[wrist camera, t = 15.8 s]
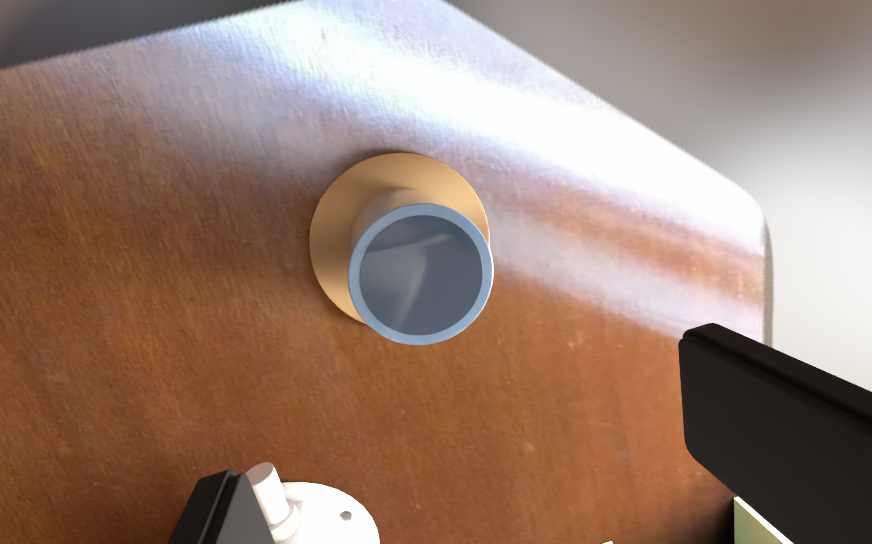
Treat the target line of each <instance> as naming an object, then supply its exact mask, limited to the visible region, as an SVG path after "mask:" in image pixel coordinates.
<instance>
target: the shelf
mask: <svg viewBox="0 0 872 544" xmlns="http://www.w3.org/2000/svg"><path fill="white" fill-rule="evenodd" d="M734 539H735V544H793V543H791V542H790V541H789V540H788V539H787V538H786V537H784V536H783V535H782V534H781V533H780V532H779V531H777V530H776V529H775V528H774V527H773V526H772V525H771V524H769V523H768V522H767V521H766V520H765V519H764V518H762V517H761V516H760V515H759V514H758V513H757V512H755V511H754V510H753V509H752V508H751V507H750V506H748V505H747V504H746V503H745V502H744V501H743V500H742V499H740V498H739V497H736V498H734ZM603 544H613V543H612V541H609V542H606V543H603Z"/></svg>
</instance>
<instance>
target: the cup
mask: <svg viewBox="0 0 872 544" xmlns="http://www.w3.org/2000/svg"><path fill="white" fill-rule="evenodd" d="M347 278H348V288H349V293H350V297H351V300H352V302H353V305H354V307H355V309H356V310H357V312H358V314H359V315H360V317H361V318H362V319H363V321H364V322H365V323H366V324H367V325H368V326H369V327H370V328H372V329H373V330H374V331H375V332H377V333H378V334H380V335H382V336H383V337H385V338H388V339H390V340H392V341H395V342H399V343H403V344H409V345H426V344H432V343H437V342H440V341H443V340H446V339H448V338H450V337H452V336H454V335H456V334H458V333H459V332H461V331H462V330H464V329H465V328H466V327H467V326H469V325H470V324H471V323H472V322H473V321H474V320H475V318H476V317H477V316H478V315H479V313H480V312H481V311H482V309H483V307H484V305H485V304H486V301H487V299H488V297H489V294H490V291H491V287H492V282H493V260H492V256H491V252H490V249H489V246H488V244H487V241H486V239H485V238H484V236H483V234H482V233H481V231H480V230H479V229H478V228H477V226H476V225H475V224H474V223H473V222H472V221H471V220H469V219H468V218H467V217H465V216H464V215H463V214H461V213H459V212H458V211H456V210H454V209H452V208H451V207H449V206H447V205H445V204H444V203H442V202H440V201H438V200H437V199H435V198H433V197H431V196H430V195H428V194H426V193H424V192H421V191H418V190H414V189H406V188H403V189H393V190H389V191H386V192H383V193H381V194H379V195H377V196H375V197H374V198H372V199H371V200H369V201H368V202H367V203H366V204H365V205H364V206H363V207H362V208H361V210H360V211H359V213H358V214H357V216H356V218H355V220H354V222H353V225H352V228H351V233H350V246H349V261H348V277H347Z"/></svg>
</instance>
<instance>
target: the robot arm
mask: <svg viewBox="0 0 872 544" xmlns="http://www.w3.org/2000/svg"><path fill="white" fill-rule="evenodd" d="M678 349H679V364H680V378H681V393H682V407H683V422H684V437H685V444H686V447H687V449H688V451H689V453H690V454H691V455H692V457H693V458H694V459H695V460H696V461H698V462H699V463H700V464H701V465H702V466H703V467H704V468H706V469H707V470H708V471H709V472H710V473H711V474H713V475H714V476H715V477H716V478H717V479H718V480H720V481H721V482H722V483H723V484H724V485H725V486H726V487H728V488H729V489H730V490H731V491H732V492H733V493H735V494H736V495H737V496H738V497H739V498H740V499H742V500H743V501H744V502H745V503H746V504H747V505H748V506H750V507H751V508H752V509H753V510H754V511H755V512H757V513H758V514H759V515H760V516H761V517H762V518H764V519H765V520H766V521H767V522H768V523H769V524H771V525H772V526H773V527H774V528H775V529H776V530H777V531H779V532H780V533H781V534H782V535H783V536H784V537H786V538H787V539H788V540H789V541H790V542H791V543H793V544H872V392H871V391H868V390H866V389H864V388H862V387H859V386H857V385H855V384H852V383H850V382H848V381H846V380H843V379H841V378H839V377H837V376H834V375H832V374H830V373H827V372H825V371H823V370H820V369H818V368H816V367H814V366H812V365H809V364H807V363H805V362H802V361H800V360H798V359H796V358H793V357H791V356H789V355H787V354H784V353H782V352H780V351H777V350H775V349H773V348H771V347H768V346H766V345H764V344H762V343H759V342H757V341H755V340H752V339H750V338H748V337H746V336H743V335H741V334H739V333H737V332H734V331H732V330H730V329H727V328H725V327H723V326H721V325H718V324H715V323H709V324H705V325H702V326H699V327H696V328H692V329H689V330H687V331H685V332H684V334H683V339H681V340H680V341H679V345H678ZM167 544H380V542H379V537H378V532H377V528H376V526H375V524H374V521H373V519H372V517H371V516H370V515H369V513H368V512H367V511H366V510H365V508H364V507H363V506H362V505H361V504H360V503H358V502H357V501H356V500H355V499H353V498H352V497H351V496H349V495H347V494H345V493H343V492H341V491H339V490H337V489H334V488H331V487H328V486H325V485H321V484H315V483H307V482H285V483H280V480H279V478H278V475H277V473H276V470H275V468H274V466H273V464H272V463H268V462H265V463H260V464H258V465H256V466H254V467H252V468H251V469H249V470H248V471H247V472H246V473H245V474H240V475H238V474H237V472H236V471H235V470H233V469H229V470H226V471H223V472H220V473H216V474H213V475H210V476H206V477H203V478H201V479H199V481H198V482H197V484H196V486H195V488H194V490H193V492H192V494H191V496H190V498H189V500H188V502H187V504H186V506H185V508H184V510H183V513H182V515H181V517H180V519H179V521H178V523H177V525H176V527H175V529H174V531H173V533H172V535H171V537H170V539H169V541H168V543H167Z"/></svg>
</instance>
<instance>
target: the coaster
mask: <svg viewBox="0 0 872 544" xmlns="http://www.w3.org/2000/svg"><path fill="white" fill-rule="evenodd" d="M403 188H406V189H414V190H418V191H421V192H424V193H426V194H428V195H430V196H431V197H433V198H435V199H437V200H438V201H440V202H442V203H444V204H445V205H447V206H449V207H451V208H452V209H454V210H456V211H458V212H459V213H461V214H463V215H464V216H465V217H467V218H468V219H469V220H471V221H472V222H473V223H474V224H475V225H476V226H477V228H478V229H479V230H480V231H481V233H482V234H483V236H484V238H485V239H486V241H487V244H488V246H489V229H488V222H487V218H486V214H485V212H484V209H483V206H482V204H481V202H480V200H479V198H478V196H477V195H476V193H475V191H474V190H473V189H472V187H471V186H470V185H469V183H468V182H467V181H466V180H465V179H464V178H463V177H462V176H461V175H460V174H458V173H457V172H456V171H454V170H453V169H452V168H450V167H449V166H447V165H445V164H444V163H442V162H440V161H437V160H435V159H433V158H430V157H427V156H423V155H419V154H413V153H388V154H381V155H377V156H374V157H371V158H367V159H365V160H363V161H361V162H359V163H357V164H355V165H353V166H352V167H350V168H349V169H347V170H346V171H344V172H343V173H342V174H341V175H340V176H339V177H337V178H336V179H335V180H334V182H333V183H332V184H331V185H330V186H329V187H328V188H327V190H326V191H325V193H324V194H323V196H322V197H321V199H320V201H319V203H318V205H317V207H316V209H315V212H314V215H313V218H312V222H311V227H310V233H309V250H310V258H311V262H312V267H313V270H314V273H315V275H316V278H317V280H318V282H319V284H320V285H321V287H322V289H323V290H324V292H325V293H326V295H327V296H328V297H329V299H330V300H331V301H332V302H333V303H334V304H335V305H336V306H337V307H338V308H340V309H341V310H342V311H343V312H345V313H346V314H347V315H349V316H351V317H352V318H354V319H356V320H358V321H360V322H362V323H364V324H366V323H365V322H364V321H363V319H362V318H361V317H360V315H359V314H358V312H357V310H356V309H355V307H354V305H353V302H352V300H351V297H350V293H349V288H348V278H347V277H348V261H349V246H350V233H351V228H352V225H353V222H354V220H355V218H356V216H357V214H358V213H359V211H360V210H361V208H362V207H363V206H364V205H365V204H366V203H367V202H368V201H369V200H371V199H372V198H374V197H375V196H377V195H379V194H381V193H383V192H386V191H389V190H393V189H403Z"/></svg>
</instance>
